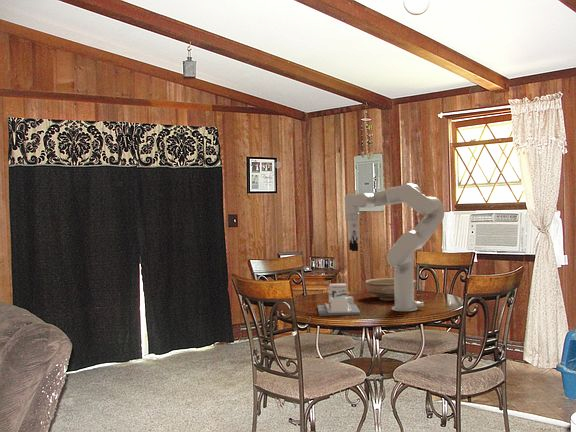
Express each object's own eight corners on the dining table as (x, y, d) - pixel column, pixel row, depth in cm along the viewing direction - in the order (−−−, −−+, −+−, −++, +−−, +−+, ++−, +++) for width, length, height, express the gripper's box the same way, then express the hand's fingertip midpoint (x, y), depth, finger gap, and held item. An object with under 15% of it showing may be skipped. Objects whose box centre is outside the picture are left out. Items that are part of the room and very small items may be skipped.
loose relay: (350, 303, 345) (350, 296, 345) (353, 304, 342) (353, 297, 342) (343, 304, 344) (343, 296, 344) (346, 305, 340) (346, 297, 340)
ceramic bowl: (366, 294, 380) (366, 277, 380) (415, 293, 375) (415, 276, 375) (363, 303, 344) (363, 285, 343) (417, 303, 339) (417, 284, 339)
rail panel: (355, 306, 334) (355, 291, 334) (360, 314, 309) (360, 298, 309) (317, 307, 335) (317, 292, 335) (319, 315, 310) (318, 299, 310)
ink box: (330, 308, 319) (330, 284, 319) (329, 307, 324) (328, 283, 324) (347, 307, 320) (347, 284, 320) (345, 306, 325) (345, 283, 325)
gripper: (361, 217, 325) (363, 251, 325) (357, 217, 342) (358, 249, 342) (347, 218, 325) (348, 251, 325) (343, 217, 342) (344, 249, 342)
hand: (353, 250), depth 334 cm, fingers open, 9 cm apart
